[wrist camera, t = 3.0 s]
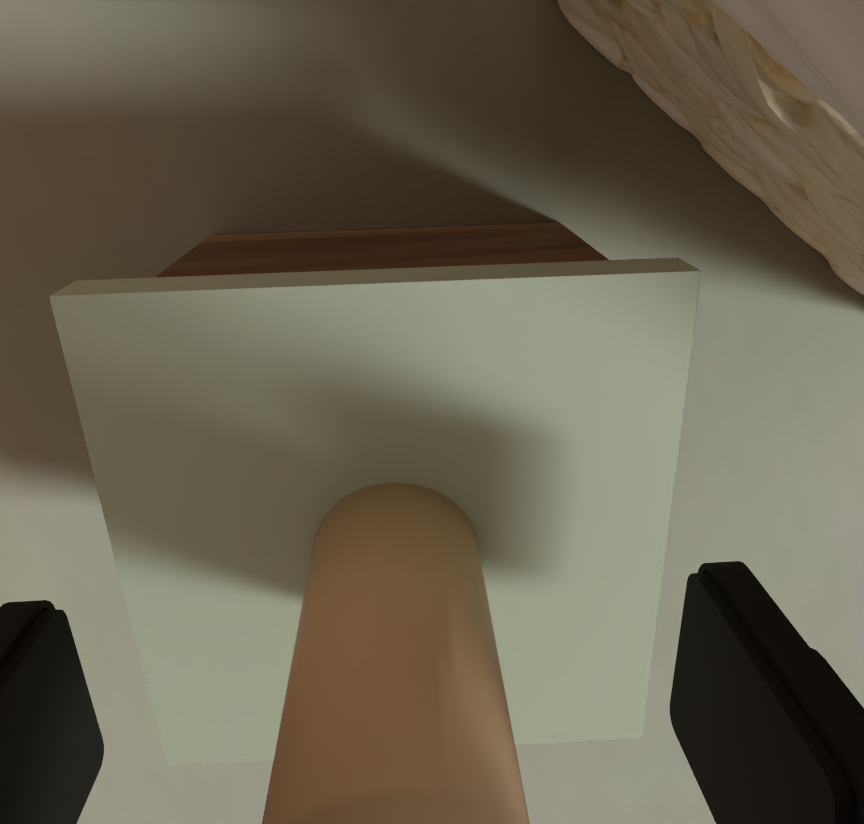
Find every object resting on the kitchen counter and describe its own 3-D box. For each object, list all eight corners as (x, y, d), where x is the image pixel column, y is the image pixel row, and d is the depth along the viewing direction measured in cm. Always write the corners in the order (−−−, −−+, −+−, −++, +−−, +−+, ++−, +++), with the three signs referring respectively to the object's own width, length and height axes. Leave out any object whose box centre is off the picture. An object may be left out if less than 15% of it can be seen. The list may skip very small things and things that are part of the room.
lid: (103, 264, 13) (-313, 503, 5) (654, 244, 13) (1003, 441, 6) (194, 686, 17) (33, 1160, 9) (613, 662, 17) (782, 1102, 10)
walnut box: (211, 234, 18) (113, 309, 12) (559, 222, 19) (645, 287, 12) (256, 530, 22) (199, 709, 16) (546, 516, 22) (607, 685, 16)
